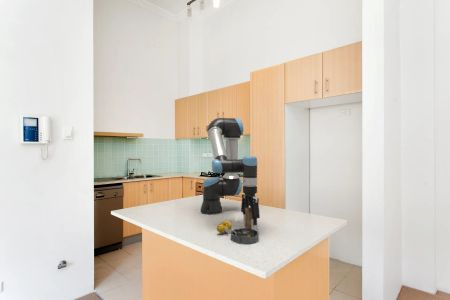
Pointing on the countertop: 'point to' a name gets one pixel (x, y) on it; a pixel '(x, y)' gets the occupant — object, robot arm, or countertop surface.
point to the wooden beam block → (248, 218)
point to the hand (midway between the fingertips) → (249, 228)
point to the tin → (245, 236)
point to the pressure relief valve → (225, 227)
